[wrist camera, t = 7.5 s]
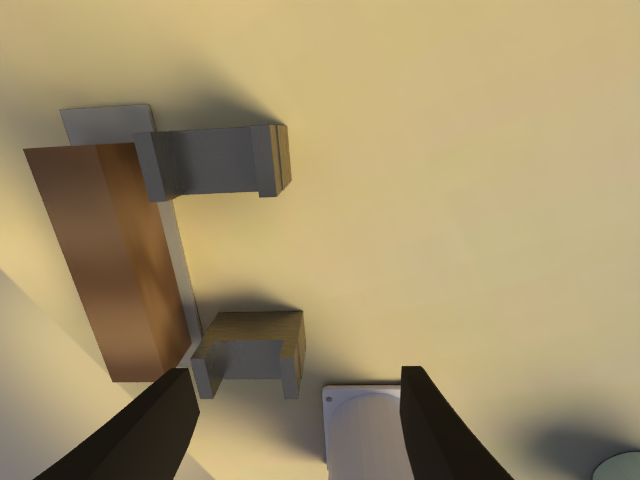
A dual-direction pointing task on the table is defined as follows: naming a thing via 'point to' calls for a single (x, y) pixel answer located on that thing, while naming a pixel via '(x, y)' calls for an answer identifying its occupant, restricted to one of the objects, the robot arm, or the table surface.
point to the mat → (118, 128)
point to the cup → (619, 467)
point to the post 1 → (214, 161)
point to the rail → (115, 255)
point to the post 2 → (251, 350)
